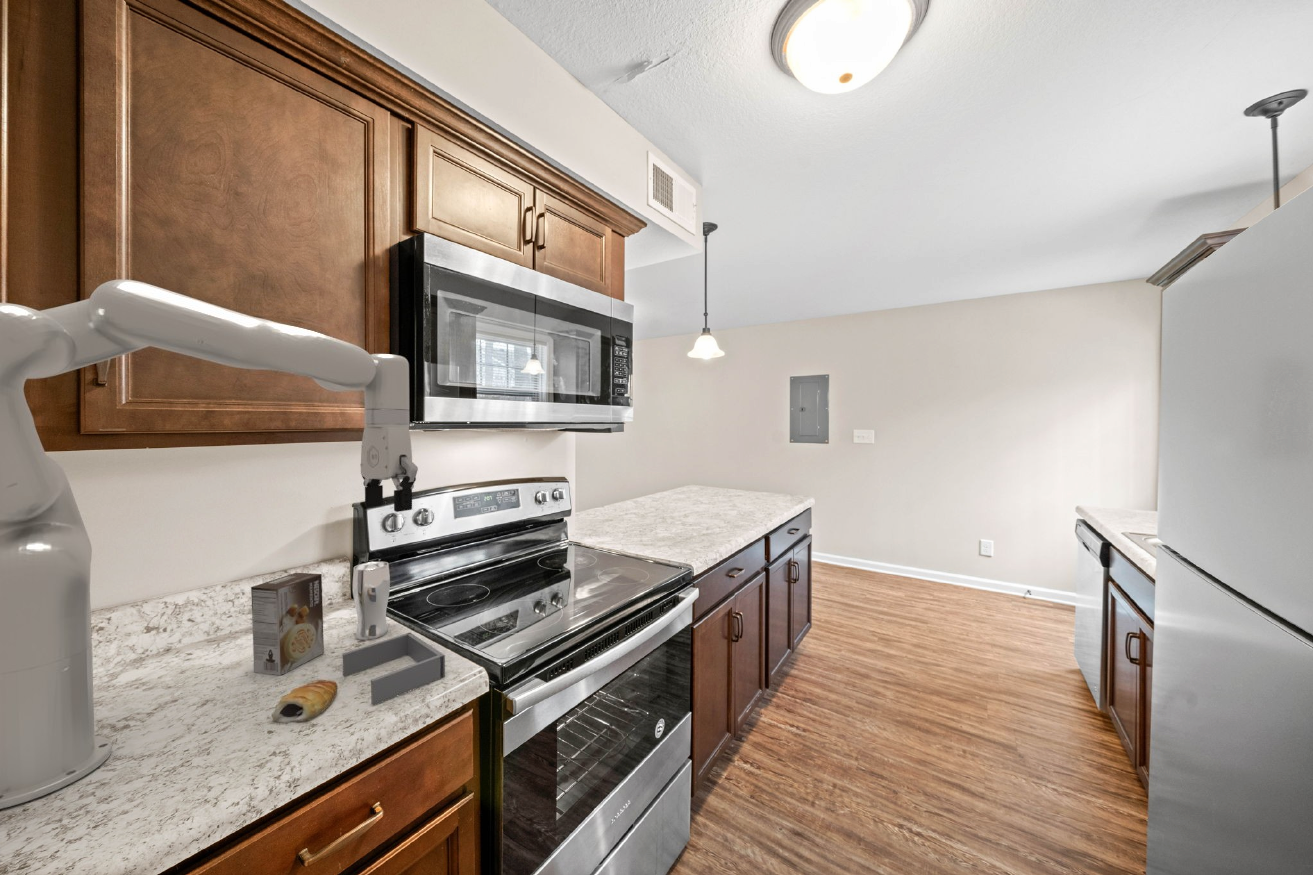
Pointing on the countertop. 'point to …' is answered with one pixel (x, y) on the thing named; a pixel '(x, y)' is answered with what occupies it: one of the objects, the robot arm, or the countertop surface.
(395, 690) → the box
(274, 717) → the pastry
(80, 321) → the robot arm
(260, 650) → the coffee box
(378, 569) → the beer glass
